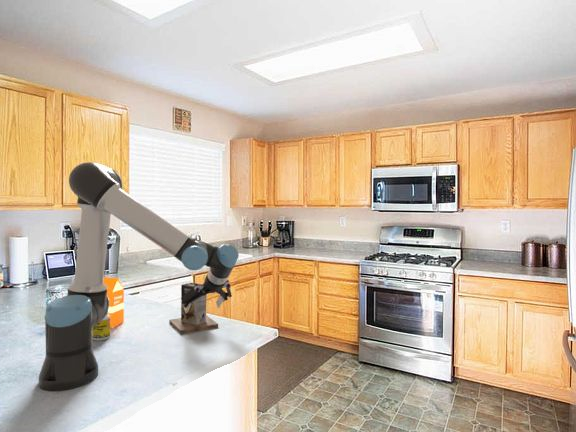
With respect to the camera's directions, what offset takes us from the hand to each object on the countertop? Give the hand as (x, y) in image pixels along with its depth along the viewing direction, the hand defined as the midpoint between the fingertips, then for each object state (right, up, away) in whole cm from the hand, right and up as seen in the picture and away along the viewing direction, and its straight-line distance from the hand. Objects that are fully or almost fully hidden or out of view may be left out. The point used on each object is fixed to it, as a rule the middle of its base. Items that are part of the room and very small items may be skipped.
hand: (202, 307), depth 147 cm
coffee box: (-6, -9, +9) cm, 13 cm away
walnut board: (-6, -10, +9) cm, 15 cm away
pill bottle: (-37, -10, -7) cm, 39 cm away
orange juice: (-42, -10, +10) cm, 45 cm away
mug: (-89, -7, +72) cm, 115 cm away
